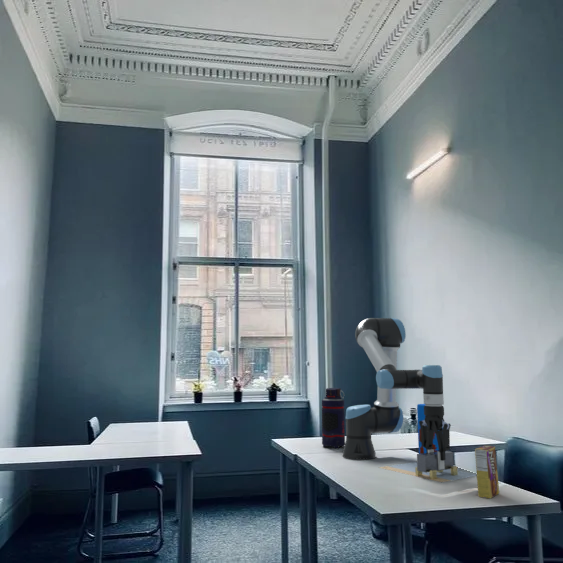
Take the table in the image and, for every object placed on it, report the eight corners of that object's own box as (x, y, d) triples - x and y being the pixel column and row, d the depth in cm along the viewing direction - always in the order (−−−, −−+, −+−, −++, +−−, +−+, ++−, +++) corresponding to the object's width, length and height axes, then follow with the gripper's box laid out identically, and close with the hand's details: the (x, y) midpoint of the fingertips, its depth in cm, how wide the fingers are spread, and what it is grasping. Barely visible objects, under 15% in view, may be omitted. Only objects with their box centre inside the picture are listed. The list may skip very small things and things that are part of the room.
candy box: (486, 491, 176) (483, 445, 179) (499, 493, 174) (496, 446, 176) (476, 496, 170) (474, 448, 172) (490, 499, 167) (487, 449, 169)
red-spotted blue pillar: (446, 466, 219) (443, 405, 223) (420, 465, 222) (417, 405, 225) (443, 461, 230) (440, 404, 234) (418, 461, 232) (416, 403, 236)
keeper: (415, 475, 197) (415, 467, 198) (440, 471, 205) (440, 463, 206) (432, 479, 191) (432, 470, 191) (457, 474, 199) (457, 466, 199)
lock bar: (445, 466, 204) (444, 450, 205) (453, 468, 201) (453, 452, 202) (417, 470, 195) (416, 454, 196) (425, 472, 192) (425, 455, 193)
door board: (378, 470, 212) (378, 467, 212) (415, 464, 224) (415, 461, 224) (442, 485, 186) (442, 482, 186) (480, 477, 198) (480, 475, 198)
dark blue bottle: (338, 449, 263) (337, 388, 268) (318, 447, 269) (317, 388, 274) (350, 445, 275) (349, 387, 279) (330, 443, 281) (329, 387, 286)
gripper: (410, 404, 207) (412, 465, 203) (445, 407, 193) (448, 473, 189) (423, 403, 211) (425, 463, 207) (458, 406, 197) (461, 470, 193)
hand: (436, 468), depth 198 cm, fingers closed on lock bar, 4 cm apart
